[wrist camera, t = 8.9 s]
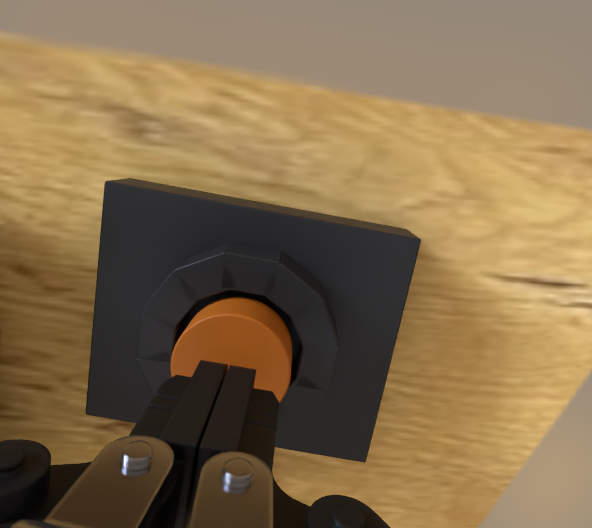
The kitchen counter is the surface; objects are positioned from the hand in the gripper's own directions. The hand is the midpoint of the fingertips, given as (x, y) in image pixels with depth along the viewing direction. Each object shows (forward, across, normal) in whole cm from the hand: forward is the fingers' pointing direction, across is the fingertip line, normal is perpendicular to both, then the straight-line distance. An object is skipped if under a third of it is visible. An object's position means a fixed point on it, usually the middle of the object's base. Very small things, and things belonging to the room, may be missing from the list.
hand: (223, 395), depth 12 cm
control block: (+7, 0, 0) cm, 7 cm away
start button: (+3, 0, 0) cm, 3 cm away
